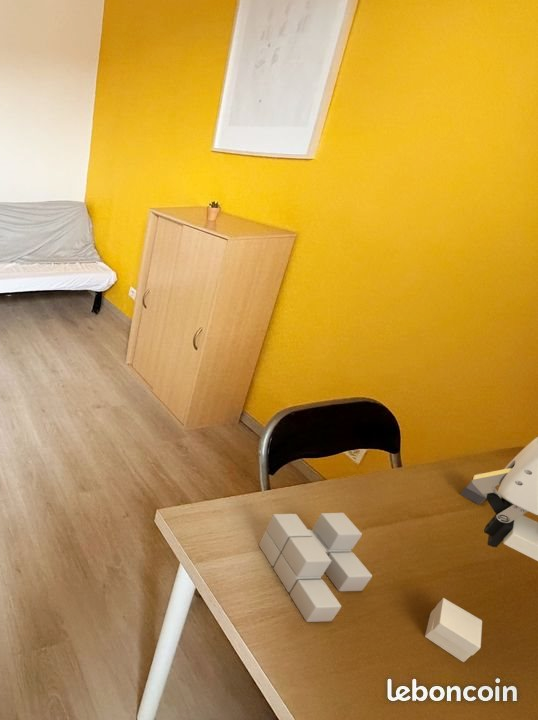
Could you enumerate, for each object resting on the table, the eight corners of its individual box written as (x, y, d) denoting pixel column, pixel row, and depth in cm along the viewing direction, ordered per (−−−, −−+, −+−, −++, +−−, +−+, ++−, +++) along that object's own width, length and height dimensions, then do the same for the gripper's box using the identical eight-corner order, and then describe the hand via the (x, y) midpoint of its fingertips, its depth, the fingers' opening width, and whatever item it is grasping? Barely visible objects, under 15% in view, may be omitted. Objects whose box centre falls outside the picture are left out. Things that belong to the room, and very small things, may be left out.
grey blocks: (468, 486, 83) (479, 471, 81) (489, 497, 81) (501, 483, 79) (458, 494, 81) (469, 479, 80) (479, 506, 79) (491, 491, 77)
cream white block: (505, 521, 54) (514, 511, 53) (552, 543, 51) (562, 533, 50) (502, 543, 51) (512, 533, 50) (552, 568, 48) (563, 558, 47)
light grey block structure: (306, 622, 60) (327, 590, 56) (257, 544, 71) (273, 513, 67) (384, 620, 61) (410, 588, 57) (325, 543, 71) (343, 512, 68)
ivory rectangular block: (429, 612, 62) (443, 596, 60) (468, 636, 59) (484, 621, 57) (423, 637, 59) (437, 621, 57) (464, 664, 56) (480, 648, 54)
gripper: (759, 477, 40) (624, 587, 49) (508, 393, 51) (434, 494, 60) (784, 519, 36) (631, 633, 44) (504, 417, 47) (425, 523, 56)
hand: (519, 552), depth 52 cm, fingers closed on cream white block, 4 cm apart
